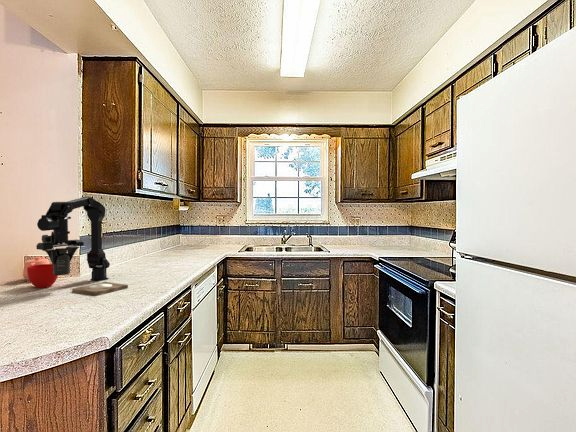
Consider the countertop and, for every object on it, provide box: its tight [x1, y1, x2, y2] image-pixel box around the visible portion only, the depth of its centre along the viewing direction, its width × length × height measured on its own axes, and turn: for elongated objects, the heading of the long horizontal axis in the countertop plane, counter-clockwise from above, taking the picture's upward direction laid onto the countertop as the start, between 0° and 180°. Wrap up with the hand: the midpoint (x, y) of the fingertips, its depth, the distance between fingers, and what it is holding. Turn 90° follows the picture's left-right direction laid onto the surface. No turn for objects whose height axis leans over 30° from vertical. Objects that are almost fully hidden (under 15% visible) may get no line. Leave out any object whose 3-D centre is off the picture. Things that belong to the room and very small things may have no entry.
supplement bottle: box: [53, 247, 71, 276], centre depth 172 cm, size 7×7×12 cm
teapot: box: [22, 255, 51, 282], centre depth 200 cm, size 20×12×12 cm, turn 17°
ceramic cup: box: [27, 263, 59, 289], centre depth 184 cm, size 13×17×10 cm
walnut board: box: [71, 281, 129, 297], centre depth 175 cm, size 17×16×2 cm
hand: (61, 263), depth 172 cm, fingers closed on supplement bottle, 7 cm apart
